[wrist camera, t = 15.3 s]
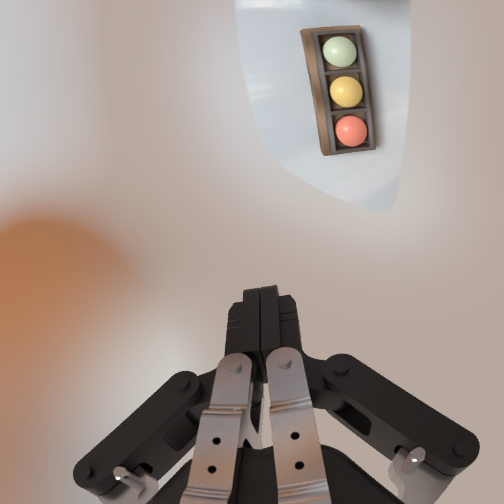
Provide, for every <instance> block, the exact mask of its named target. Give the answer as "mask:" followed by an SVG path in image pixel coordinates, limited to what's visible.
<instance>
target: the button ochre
mask: <svg viewBox="0 0 504 504" xmlns="http://www.w3.org/2000/svg"><path fill="white" fill-rule="evenodd" d="M328 91H329V95H330V97H331V99H332V100H333V101H334V102H335V103H337V104H339V105H341V106H343V107H352V106H355V105H356V104H358V103H359V102H360V100H361V98H362V87H361V85H360V84H359V82H358V81H357V80H355V79H354V78H351V77H347V76H338V77H336V78H334V79H333V80H332V81H331V82H330V84H329V88H328Z"/></svg>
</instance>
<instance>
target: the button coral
mask: <svg viewBox="0 0 504 504" xmlns="http://www.w3.org/2000/svg"><path fill="white" fill-rule="evenodd" d="M334 132H335V135H336V136H337V138H338V139H339V140H340V141H341V142H342V143H343V144H345V145H347V146H357V145H359V144H361V143H362V142H363V141H364V140H365V138H366V135H367V128H366V125H365V124H364V122H363V121H362V120H361V119H359V118H358V117H356V116H354V115H351V114H346V115H342V116H341V117H339V118H338V119H337V121H336V122H335V125H334Z"/></svg>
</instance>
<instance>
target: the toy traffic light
mask: <svg viewBox="0 0 504 504" xmlns="http://www.w3.org/2000/svg"><path fill="white" fill-rule="evenodd" d="M300 33H301V38H302V43H303V47H304V52H305V57H306V62H307V68H308V73H309V79H310V84H311V90H312V96H313V101H314V108H315V114H316V120H317V127H318V133H319V140H320V148H321V152H322V154H323V155H324V156H328V155H335V154H343V153H350V152H358V151H367V150H375V149H376V146H375V133H374V122H373V112H372V103H371V94H370V86H369V79H368V72H367V65H366V58H365V52H364V46H363V40H362V35H361V30H360V25H355V26H334V27H321V28H310V29H302V30H301V31H300ZM333 37H345V38H347V39H349V40H350V41H351V42H352V43H353V44H354V46H355V48H356V58H355V60H354V62H353V63H352V64H350V65H349V66H346V67H337V66H333V65H330V64H329V63H327V62H326V61H325V59H324V58H323V56H322V46H323V44H324V42H325V41H326V40H328V39H330V38H333ZM338 76H347V77H351V78H354V79H355V80H357V81H358V82H359V84H360V85H361V87H362V98H361V100H360V102H359V103H358V104H356V105H355V106H352V107H343V106H341V105H339V104H337V103H335V102H334V101H333V100H332V99H331V97H330V95H329V91H328V88H329V84H330V82H331V81H332V80H333V79H334V78H336V77H338ZM346 114H351V115H354V116H356V117H358V118H359V119H361V120H362V121H363V122H364V124H365V125H366V128H367V135H366V138H365V140H364V141H363V142H362V143H361V144H359V145H357V146H347V145H345V144H343V143H342V142H341V141H340V140H339V139H338V138H337V136H336V135H335V132H334V125H335V122H336V121H337V119H338V118H339V117H341V116H342V115H346Z"/></svg>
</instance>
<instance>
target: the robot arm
mask: <svg viewBox="0 0 504 504" xmlns="http://www.w3.org/2000/svg"><path fill="white" fill-rule="evenodd" d="M264 383H268V386H269V394H270V404H271V407H270V421H271V430H272V439H273V446H271V447H267V448H264V449H263V448H262V440H261V433H262V420H263V409H264V396H263V384H264ZM313 408H319V409H326V411H327V412H328V413H329V414H330V415H332V416H333V417H334V418H335V419H337V420H338V421H339V422H340V423H342V424H343V425H344V426H346V427H347V428H348V429H349V430H351V431H352V432H353V433H355V434H356V435H357V436H359V437H360V438H361V439H362V440H364V441H365V442H367V443H368V444H369V445H370V446H372V447H373V448H374V449H376V450H377V451H379V452H380V453H381V454H383V455H384V456H385V457H387V458H388V459H389V460H391V461H392V462H391V464H390V466H389V470H388V474H389V478H390V480H391V481H392V482H393V483H394V484H395V485H396V487H397V489H398V493H399V496H398V498H397V497H396V496H395V495H394V494H392V493H391V492H390V491H388V490H387V489H386V488H385V487H383V486H382V485H381V484H380V483H379V482H377V481H376V480H375V479H374V478H372V477H371V476H370V475H369V474H368V473H366V472H365V471H364V470H363V469H362V468H361V467H359V466H358V465H357V464H356V463H355V462H354V461H352V460H351V459H350V458H349V457H348V456H347V455H345V454H344V453H342V452H341V451H339V450H337V449H335V448H332V447H330V446H326V445H321V444H320V441H319V436H318V431H317V426H316V421H315V416H314V411H313ZM194 445H195V449H194V454H193V458H192V459H190V460H189V461H188V462H187V463H185V465H183V466H182V467H181V468H180V470H178V472H177V473H176V474H175V475H174V476H173V477H172V478H171V479H170V480H169V481H168V482H167V483H166V484H165V485H164V486H163V487H162V488H161V489H160V490H159V491H158V488H159V485H158V480H159V479H161V477H163V476H164V475H165V474H166V473H167V472H168V471H169V470H170V469H171V468H172V467H173V466H174V465H175V464H176V463H177V462H178V461H179V460H180V459H181V458H182V457H183V456H184V455H185V454H186V453H187V452H188V451H189V450H190V449H191V448H192V447H193V446H194ZM479 449H480V445H479V441H478V439H477V437H476V436H475V435H474V434H473V433H472V432H470V431H468V430H467V429H465V428H463V427H462V426H460V425H459V424H457V423H455V422H454V421H452V420H451V419H449V418H447V417H446V416H444V415H442V414H441V413H439V412H438V411H436V410H435V409H433V408H431V407H430V406H428V405H427V404H425V403H423V402H422V401H420V400H419V399H417V398H416V397H414V396H413V395H411V394H409V393H408V392H406V391H405V390H403V389H402V388H400V387H399V386H397V385H396V384H394V383H392V382H391V381H389V380H387V379H386V378H385V377H383V376H382V375H380V374H379V373H377V372H376V371H374V370H372V369H371V368H370V367H368V366H367V365H365V364H363V363H362V362H360V361H359V360H357V359H356V358H354V357H353V356H351V355H348V354H336V355H333V356H331V357H329V358H328V359H327V360H318V359H314V358H311V357H309V356H307V355H306V354H305V353H304V352H303V350H302V343H301V335H300V327H299V320H298V314H297V308H296V302H295V300H294V299H293V298H292V297H291V295H284V296H279V292H278V287H277V285H273V286H267V287H261V289H260V288H254V289H247V290H244V291H243V302H236V303H233V306H232V307H231V308H230V310H229V313H228V323H227V333H226V344H225V355H224V358H222V359H221V360H220V362H219V364H218V366H217V368H216V369H214V370H212V371H210V372H208V373H205V374H202V375H199V376H197V375H196V374H195V373H193V372H190V371H182V372H179V373H176V374H175V375H173V376H172V377H171V378H170V379H169V380H168V381H167V382H166V383H164V384H163V385H162V386H161V387H160V388H159V389H158V390H157V391H156V392H155V393H154V394H153V395H152V396H151V397H149V398H148V399H147V400H146V401H145V402H144V403H143V404H142V405H141V406H140V407H139V408H138V409H136V410H135V411H134V412H133V413H132V414H131V415H130V416H129V417H128V418H127V419H126V420H124V421H123V422H122V423H121V424H120V425H119V426H118V427H117V428H116V429H115V430H113V431H112V432H111V433H110V434H109V435H108V436H107V437H106V438H105V439H103V440H102V441H101V442H100V443H99V444H98V445H97V446H96V447H94V448H93V449H92V450H91V451H90V452H89V453H88V454H86V455H85V456H84V457H83V458H82V459H81V460H80V461H79V462H78V463H77V464H76V465H75V467H74V470H73V478H74V480H75V482H76V484H77V485H78V486H80V487H81V488H83V489H85V490H87V491H89V492H90V493H92V494H93V495H95V496H97V497H98V498H99V499H100V501H101V502H102V503H103V504H434V503H435V501H436V500H437V499H438V498H439V497H440V495H441V494H442V493H443V492H444V490H445V489H446V488H447V486H448V485H449V484H450V482H451V481H452V480H453V479H454V478H455V477H456V476H457V475H459V474H460V473H461V472H462V471H463V470H465V469H466V468H467V467H468V466H469V465H470V464H471V463H473V462H474V461H475V459H476V458H477V456H478V454H479Z"/></svg>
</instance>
